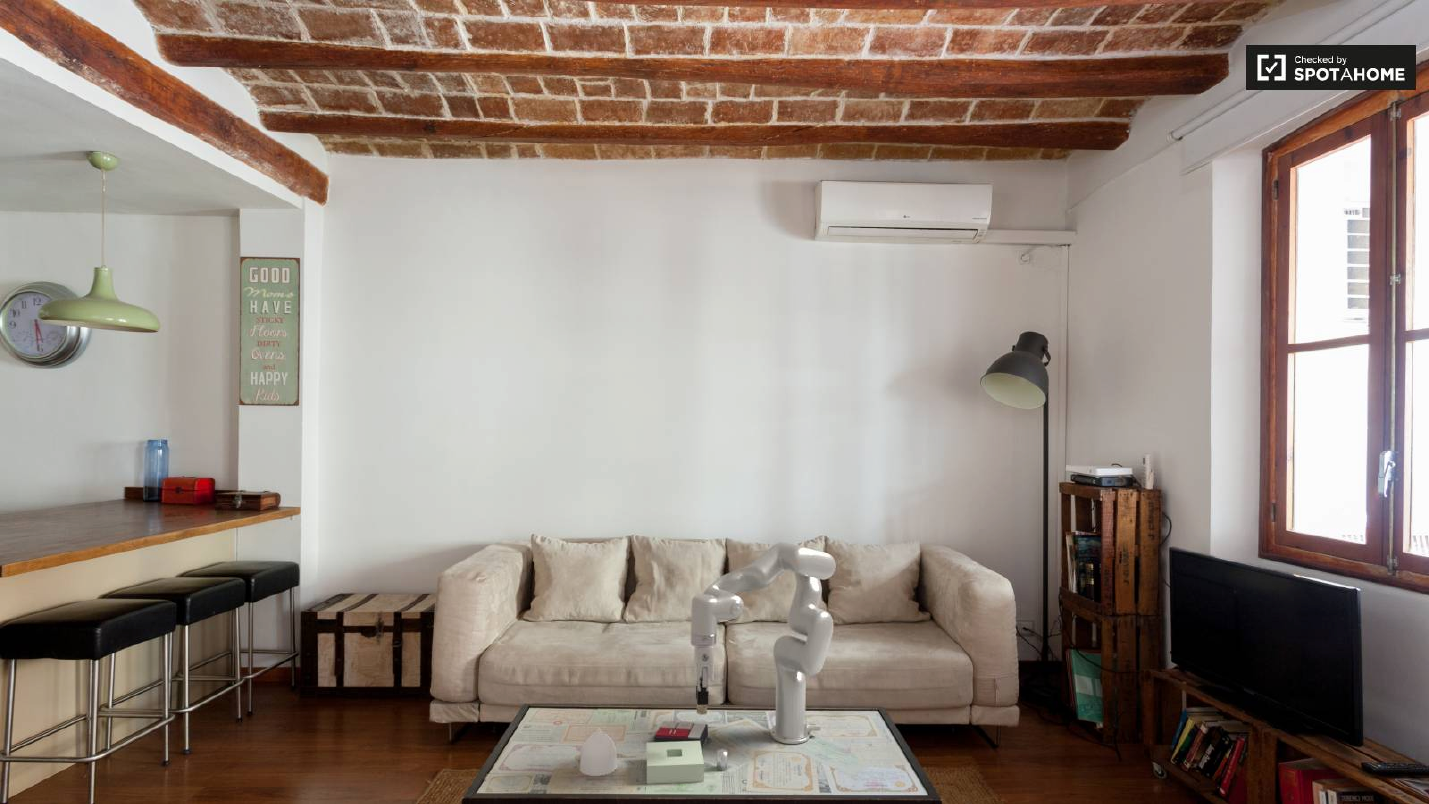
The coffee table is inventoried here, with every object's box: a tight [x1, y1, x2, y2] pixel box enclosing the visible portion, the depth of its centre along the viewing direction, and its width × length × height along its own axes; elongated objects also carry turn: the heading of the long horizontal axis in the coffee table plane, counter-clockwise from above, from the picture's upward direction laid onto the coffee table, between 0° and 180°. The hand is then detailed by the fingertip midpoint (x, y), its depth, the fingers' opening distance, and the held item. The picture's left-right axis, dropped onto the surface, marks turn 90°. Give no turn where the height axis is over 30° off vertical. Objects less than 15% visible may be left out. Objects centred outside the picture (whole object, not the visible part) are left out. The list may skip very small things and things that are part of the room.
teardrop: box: [579, 726, 618, 777], centre depth 214 cm, size 11×11×12 cm
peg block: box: [646, 741, 705, 785], centre depth 212 cm, size 16×14×5 cm
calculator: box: [653, 720, 709, 749], centre depth 231 cm, size 11×4×15 cm
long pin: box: [696, 678, 708, 715], centre depth 213 cm, size 3×3×11 cm
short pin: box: [716, 748, 729, 772], centre depth 213 cm, size 3×3×5 cm
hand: (702, 701), depth 212 cm, fingers closed on long pin, 3 cm apart
